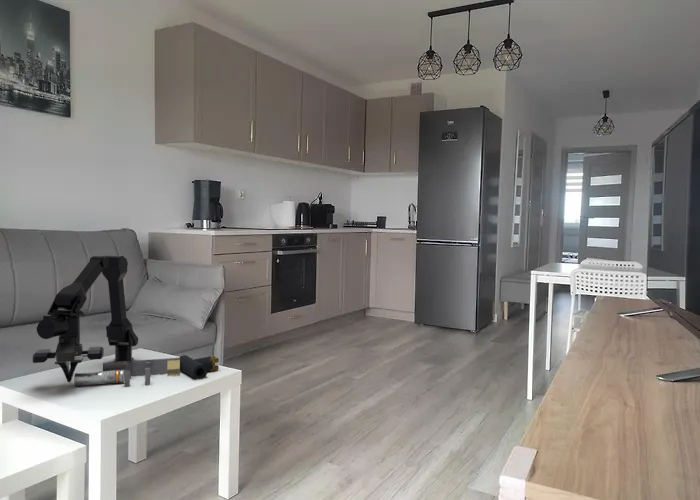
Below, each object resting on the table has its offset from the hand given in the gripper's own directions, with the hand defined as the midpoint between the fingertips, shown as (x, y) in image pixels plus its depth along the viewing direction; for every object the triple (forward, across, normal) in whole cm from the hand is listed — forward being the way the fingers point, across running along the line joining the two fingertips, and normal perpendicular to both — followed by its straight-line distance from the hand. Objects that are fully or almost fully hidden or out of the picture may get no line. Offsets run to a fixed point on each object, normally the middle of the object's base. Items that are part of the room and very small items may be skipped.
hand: (69, 381), depth 157 cm
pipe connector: (+2, +40, +6) cm, 40 cm away
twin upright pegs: (+1, +20, 0) cm, 20 cm away
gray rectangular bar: (+1, +21, +5) cm, 21 cm away
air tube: (+1, +9, 0) cm, 9 cm away
